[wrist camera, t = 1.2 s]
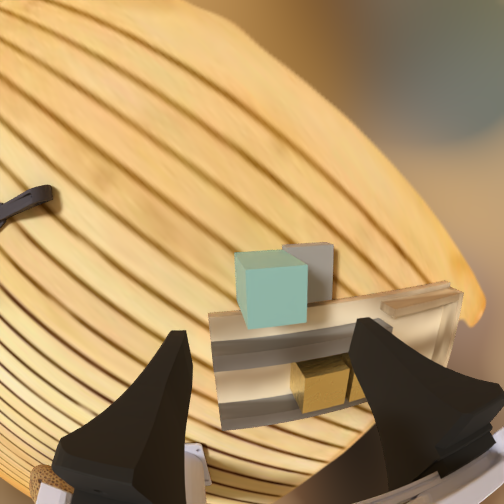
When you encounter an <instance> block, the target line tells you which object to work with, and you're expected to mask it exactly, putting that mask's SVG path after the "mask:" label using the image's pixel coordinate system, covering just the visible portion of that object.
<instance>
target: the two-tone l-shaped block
mask: <svg viewBox="0 0 504 504" xmlns="http://www.w3.org/2000/svg"><path fill="white" fill-rule="evenodd" d="M333 247H334V245H333V244H330V243H327V242H320V243H303V244H287V245H282V250H267V251H252V252H236V253H234V254H235V275H236V294H237V301H238V304H239V307H240V310H241V312H242V315H243V318H244V320H245V323H246V326H247V328H248V330H249V329H258V328H267V327H276V326H284V325H291V324H299V323H306V322H307V303H312V302H319V301H327V300H332V284H333Z"/></svg>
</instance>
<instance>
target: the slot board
mask: <svg viewBox="0 0 504 504" xmlns="http://www.w3.org/2000/svg"><path fill="white" fill-rule="evenodd" d="M463 294H464V292H462V291H459V290H457V289H454V288H452V287H450V282H447V281H441V282H436V283H431V284H426V285H421V286H415V287H410V288H404V289H399V290H393V291H387V292H381V293H375V294H369V295H363V296H356V297H349V298H343V299H335V300H328V301H321V302H313V303H307V322H306V323H299V324H291V325H284V326H276V327H267V328H258V329H249V330H248V328H247V326H246V323H245V320H244V318H243V315H242V312H241V310H239V311H227V312H214V313H208V318H209V329H210V338H211V349H212V359H213V368H214V374H215V382H216V390H217V397H218V405H219V413H220V421H221V427H222V431H226V430H236V429H244V428H252V427H259V426H266V425H272V424H278V423H284V422H289V421H294V420H299V419H304V418H308V417H313V416H317V415H321V414H325V413H329V412H333V411H337V410H341V409H344V408H348V407H351V406H355V405H358V404H361V403H364V402H368V401H367V399H366V397H365V398H361V399H358V400H355V401H351V402H348V400H347V399H346V398H345V401H344V404H341V405H337V406H333V407H329V408H325V409H321V410H316V411H312V412H308V413H303V414H302V412H301V410H300V408H299V406H298V404H297V402H296V400H295V398H294V396H293V394H292V392H291V390H290V369H291V363H294V362H300V361H306V360H311V359H317V358H322V357H327V356H332V355H337V354H342V353H346V352H348V351H349V348H350V344H351V340H352V336H353V332H354V328H355V324H356V320H357V319H358V318H365V317H370V318H371V319H373V320H374V321H376V322H377V323H378V324H380V325H381V326H382V327H384V328H385V329H386V330H388V331H389V332H390V333H392V334H393V335H394V336H396V337H397V338H398V339H400V340H401V341H403V342H404V343H405V344H407V345H408V346H410V347H411V348H413V349H414V350H416V351H417V352H419V353H420V354H422V355H424V356H425V357H427V358H429V359H430V360H432V361H434V362H436V363H438V364H440V365H442V366H444V367H447V364H448V360H449V357H450V353H451V350H452V346H453V342H454V338H455V334H456V330H457V325H458V321H459V316H460V311H461V306H462V300H463Z"/></svg>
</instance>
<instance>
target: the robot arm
mask: <svg viewBox="0 0 504 504" xmlns="http://www.w3.org/2000/svg"><path fill="white" fill-rule="evenodd" d="M348 354H349V357H350V361H351V364H352V367H353V370H354V373H355V375H356V377H357V380H358V382H359V384H360V386H361V388H362V390H363V393H364V395H365V397H366V399H367V401H368V404H369V406H370V408H371V410H372V413H373V415H374V418H375V422H376V425H377V428H378V432H379V435H380V439H381V443H382V448H383V452H384V457H385V462H386V469H387V476H388V486H389V492H388V493H385V494H382V495H379V496H377V497H373V498H370V499H367V500H364V501H361V502H357V503H354V504H402V503H405V502H407V501H409V500H411V499H412V500H411V501H410V502H408V503H406V504H479V503H480V502H482V501H483V500H484V499H485V498H487V497H488V496H489V495H490V494H491V493H493V492H494V491H495V490H496V489H497V488H499V487H500V486H501V485H502V484H503V483H504V426H503V427H502V428H500V429H499V430H498V431H496V432H495V433H494V434H493V435H491V433H490V431H491V430H492V425H491V424H490V422H491V420H493V418H494V417H495V416H496V415H497V414H498V412H499V411H500V410H501V409H502V407H503V406H504V391H503V389H502V388H501V387H500V385H499V384H497V383H492V382H487V381H483V380H478V379H475V378H472V377H469V376H465V375H463V374H460V373H458V372H455V371H453V370H450V369H448V368H446V367H444V366H442V365H440V364H438V363H436V362H434V361H432V360H430V359H429V358H427V357H425V356H424V355H422V354H420V353H419V352H417V351H416V350H414V349H413V348H411V347H410V346H408V345H407V344H405V343H404V342H403V341H401V340H400V339H398V338H397V337H396V336H394V335H393V334H392V333H390V332H389V331H388V330H386V329H385V328H384V327H382V326H381V325H380V324H378V323H377V322H376V321H374V320H373V319H371V318H370V317H365V318H358V319H357V320H356V324H355V328H354V332H353V336H352V340H351V344H350V348H349V351H348ZM192 376H193V363H192V358H191V353H190V349H189V343H188V338H187V333H186V330H182V331H171V332H170V333H169V334H168V336H167V337H166V339H165V341H164V342H163V344H162V345H161V347H160V348H159V350H158V351H157V353H156V354H155V355H154V357H153V358H152V360H151V361H150V362H149V364H148V365H147V367H146V368H145V369H144V370H143V372H142V373H141V374H140V375H139V376H138V378H137V379H136V380H135V381H134V383H133V384H132V385H131V386H130V387H129V388H128V389H127V390H126V391H125V392H124V393H123V394H122V395H121V396H120V397H119V398H118V399H117V400H116V401H115V402H114V403H113V404H112V405H110V406H109V407H108V408H107V409H106V410H105V411H103V412H102V413H101V414H99V415H98V416H97V417H95V418H94V419H93V420H91V421H90V422H88V423H87V424H85V425H84V426H82V427H81V428H79V429H77V430H75V431H74V432H72V433H70V434H68V435H66V436H64V437H62V438H61V439H60V441H59V444H58V446H57V449H56V452H55V456H54V459H53V462H52V466H51V468H52V470H53V472H54V473H55V474H56V475H57V476H58V477H60V478H61V479H62V480H64V481H65V482H66V483H68V484H69V485H70V486H72V487H73V488H74V493H73V494H71V493H69V492H67V491H65V490H62V489H60V488H57V487H54V486H52V485H49V484H47V483H44V482H41V485H40V489H39V493H38V497H37V501H36V504H207V501H206V491H205V486H210V485H211V484H212V481H211V478H210V474H209V470H208V467H207V463H206V459H205V455H204V451H203V447H202V444H200V443H187V444H185V431H186V423H187V416H188V410H189V403H190V397H191V390H192Z"/></svg>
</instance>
